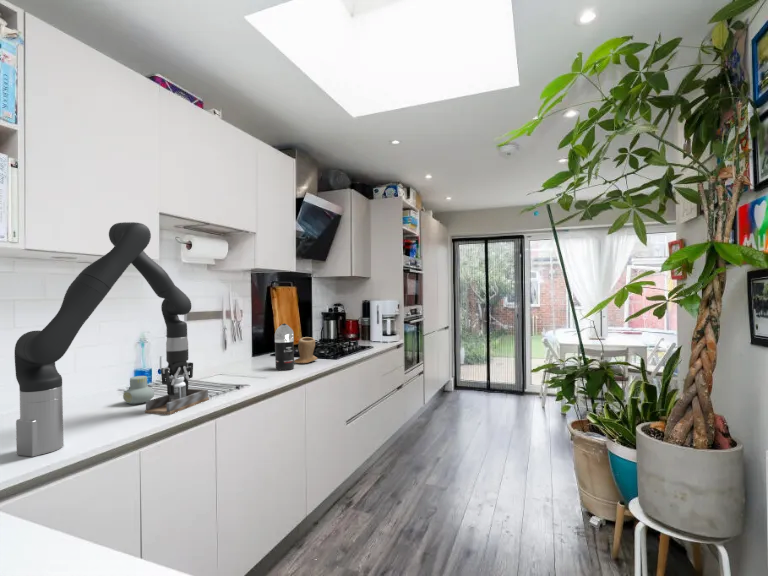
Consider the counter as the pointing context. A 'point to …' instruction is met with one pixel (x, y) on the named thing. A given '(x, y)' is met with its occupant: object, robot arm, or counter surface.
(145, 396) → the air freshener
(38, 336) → the robot arm
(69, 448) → the counter surface
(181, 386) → the pill bottle
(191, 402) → the grey tray
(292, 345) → the black labeled bottle
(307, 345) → the stone cup
